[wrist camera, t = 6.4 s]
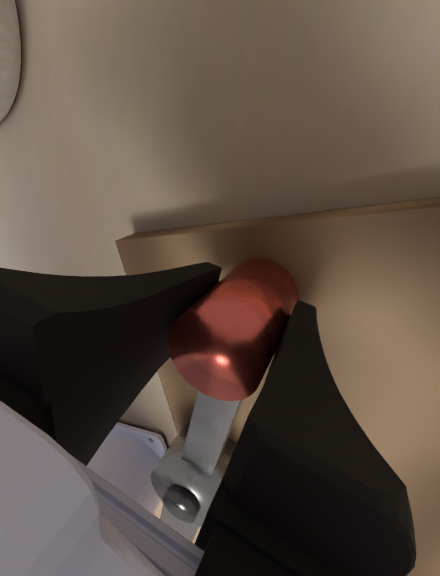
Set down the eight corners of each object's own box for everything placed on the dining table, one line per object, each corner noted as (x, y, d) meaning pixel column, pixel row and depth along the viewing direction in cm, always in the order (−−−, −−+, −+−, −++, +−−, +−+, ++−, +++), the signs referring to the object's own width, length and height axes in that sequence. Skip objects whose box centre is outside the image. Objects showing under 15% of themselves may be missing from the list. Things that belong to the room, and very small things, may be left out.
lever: (224, 508, 21) (189, 591, 17) (170, 472, 22) (126, 543, 18) (329, 280, 11) (303, 356, 7) (223, 239, 12) (152, 285, 8)
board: (209, 483, 24) (176, 550, 20) (134, 233, 16) (61, 262, 13) (446, 566, 17) (466, 694, 13) (494, 191, 9) (571, 227, 6)
